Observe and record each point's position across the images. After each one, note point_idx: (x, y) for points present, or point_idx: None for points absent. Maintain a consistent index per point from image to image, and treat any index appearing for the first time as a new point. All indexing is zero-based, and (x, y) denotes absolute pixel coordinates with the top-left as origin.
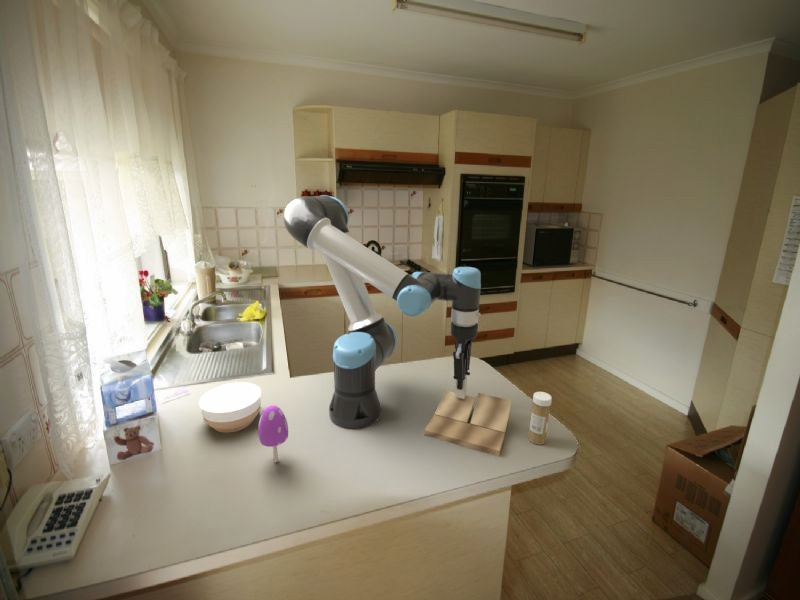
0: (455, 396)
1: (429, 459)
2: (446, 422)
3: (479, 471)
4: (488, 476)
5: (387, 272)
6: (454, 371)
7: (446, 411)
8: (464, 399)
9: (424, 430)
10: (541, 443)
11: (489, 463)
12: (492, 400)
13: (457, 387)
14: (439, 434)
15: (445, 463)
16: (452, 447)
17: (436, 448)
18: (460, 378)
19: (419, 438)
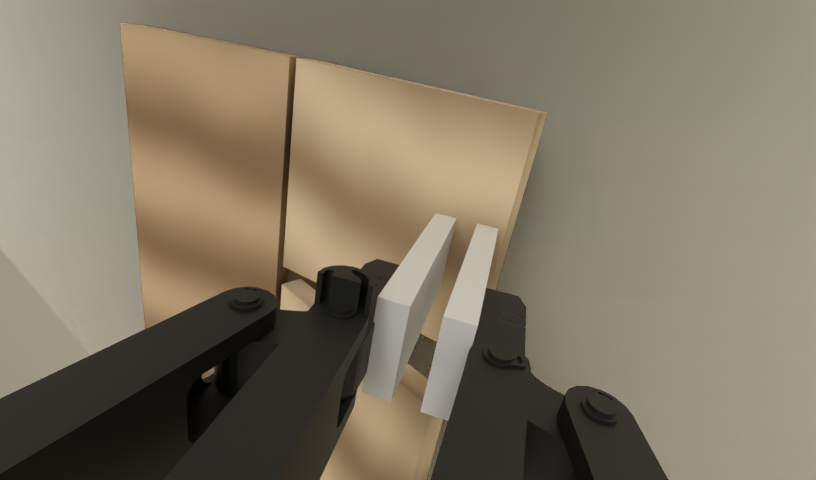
0: (434, 216)
1: (18, 91)
2: (239, 152)
3: (67, 291)
4: (62, 318)
5: None
6: (102, 358)
7: (329, 144)
8: (444, 277)
9: (123, 23)
10: None
11: (119, 328)
12: (386, 465)
13: (364, 270)
14: (128, 122)
15: (35, 165)
16: (133, 189)
17: (92, 114)
18: (215, 372)
19: (114, 3)
